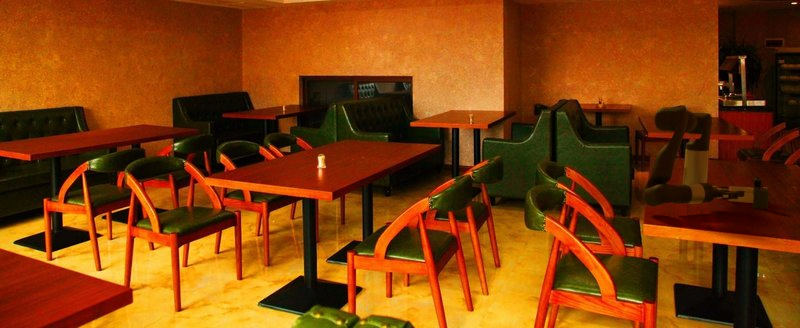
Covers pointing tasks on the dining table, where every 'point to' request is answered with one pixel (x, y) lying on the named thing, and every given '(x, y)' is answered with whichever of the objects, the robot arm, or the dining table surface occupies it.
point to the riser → (747, 196)
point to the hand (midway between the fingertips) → (735, 191)
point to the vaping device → (760, 195)
